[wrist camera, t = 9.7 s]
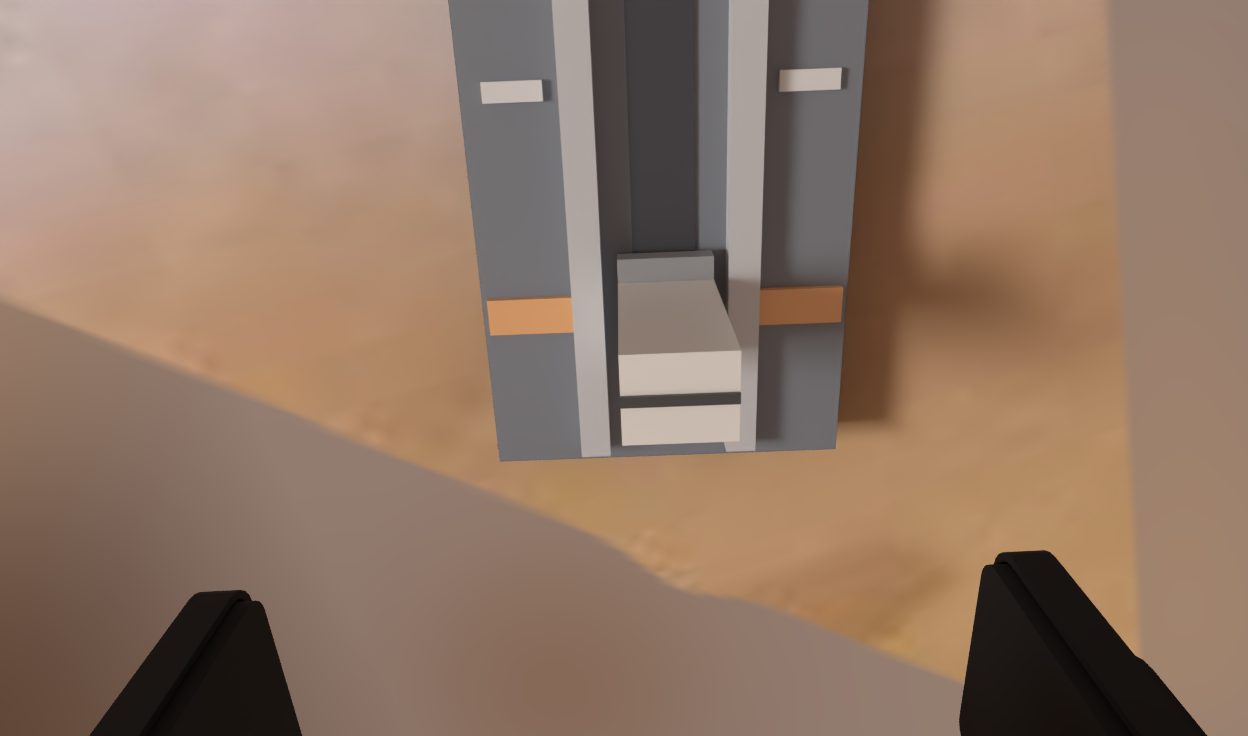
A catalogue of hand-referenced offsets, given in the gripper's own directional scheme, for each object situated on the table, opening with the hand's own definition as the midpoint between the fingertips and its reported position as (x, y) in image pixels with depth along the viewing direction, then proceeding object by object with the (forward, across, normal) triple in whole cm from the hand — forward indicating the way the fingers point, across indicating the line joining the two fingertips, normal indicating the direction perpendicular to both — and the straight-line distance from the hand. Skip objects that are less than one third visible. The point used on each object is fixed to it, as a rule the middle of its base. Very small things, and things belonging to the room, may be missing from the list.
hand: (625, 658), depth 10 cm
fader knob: (+17, -1, +1) cm, 17 cm away
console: (+19, -2, -5) cm, 20 cm away
